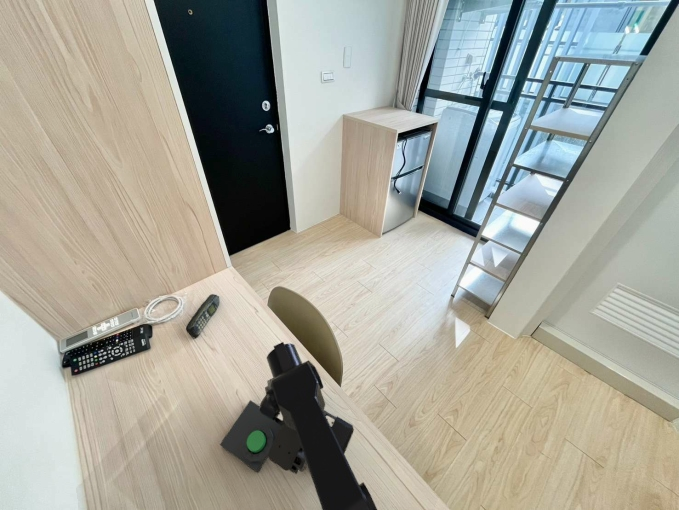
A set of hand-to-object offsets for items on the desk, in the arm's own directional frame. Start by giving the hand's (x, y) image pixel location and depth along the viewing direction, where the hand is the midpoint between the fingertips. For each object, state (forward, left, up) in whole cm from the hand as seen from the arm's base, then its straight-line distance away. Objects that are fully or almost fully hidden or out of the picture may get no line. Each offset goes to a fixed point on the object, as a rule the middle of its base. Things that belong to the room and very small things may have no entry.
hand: (308, 429), depth 59 cm
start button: (-7, +8, 0) cm, 11 cm away
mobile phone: (+12, +44, -4) cm, 46 cm away
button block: (-6, +11, -4) cm, 13 cm away
